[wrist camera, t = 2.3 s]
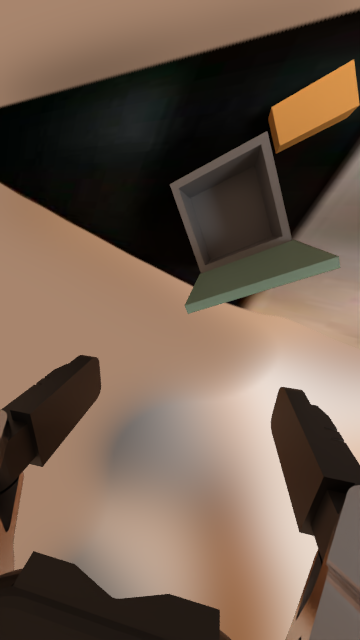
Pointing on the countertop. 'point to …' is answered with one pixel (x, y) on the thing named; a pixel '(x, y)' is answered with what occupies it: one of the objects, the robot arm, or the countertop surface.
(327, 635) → the robot arm
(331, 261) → the lid
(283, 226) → the storage box
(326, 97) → the orange rectangular block
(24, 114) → the countertop surface
